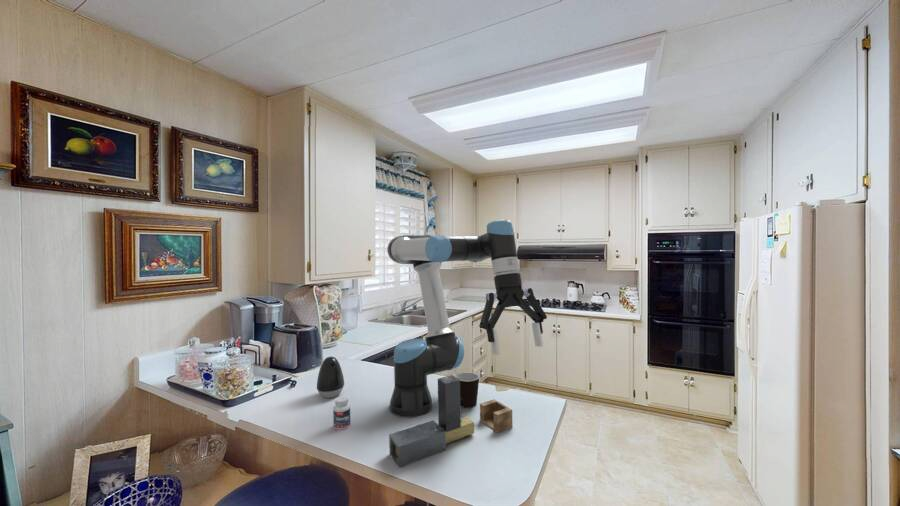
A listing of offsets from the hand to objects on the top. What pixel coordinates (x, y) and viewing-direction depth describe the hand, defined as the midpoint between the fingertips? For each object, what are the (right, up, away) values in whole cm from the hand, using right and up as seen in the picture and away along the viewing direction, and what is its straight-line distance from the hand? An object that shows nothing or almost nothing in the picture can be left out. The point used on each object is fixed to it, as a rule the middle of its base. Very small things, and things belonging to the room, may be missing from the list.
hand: (518, 350), depth 93 cm
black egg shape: (-66, -29, +39) cm, 82 cm away
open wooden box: (-4, -28, +16) cm, 33 cm away
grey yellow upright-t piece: (-23, -28, +5) cm, 36 cm away
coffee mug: (-12, -28, +32) cm, 44 cm away
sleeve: (-28, -29, +2) cm, 40 cm away
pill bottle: (-54, -29, +16) cm, 63 cm away
